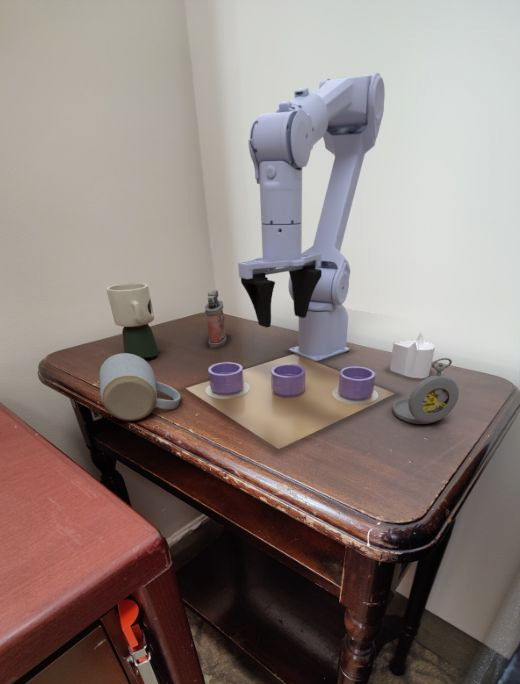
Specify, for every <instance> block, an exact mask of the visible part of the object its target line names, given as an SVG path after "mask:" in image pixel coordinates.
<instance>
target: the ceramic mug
mask: <svg viewBox="0 0 520 684" xmlns="http://www.w3.org/2000/svg"><path fill="white" fill-rule="evenodd" d="M98 376H99V390H100V391H99V393H100V400H101V402H102V405H103V407H104V409H105V410H106V411H107V412H108V413H109V415H111V416H112V417H114V418H116V419H118V420H121V421H125V422H134V421H139V420H140V421H141V420H142V419H144V418H146V417H147V416H149V415H150V414H151V413H152V412H153V411H154V409H160V410H166V411H167V410H175V409H177V408H178V407H179V405H180V401H181V397H182V396H181V394H180V392H179V391H178V390H176V389H175V388H174V387H172V386H170V385H167V384H166V383H163V382H161V381H158V380H157V381H156V377H155V373H154V369H153V368H152V367H151V365H150V363H148V362H147V360H146V359H143V358H141V357H139V356H136V355H133V354H129V353H125V352H123V353H117V354H114V355H111V356H110V357H108V358H106V359H105V361H104V362H103V363H102V364H101V366H100V369H99V375H98ZM158 393H160V394H163V395H164V396H168V397H169V398H171V400H170V399H164V398H158Z"/></svg>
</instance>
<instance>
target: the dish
mask: <svg viewBox="0 0 520 684" xmlns="http://www.w3.org/2000/svg"><path fill="white" fill-rule="evenodd" d="M243 370H244V367H243V365H242V364H240V363H237V362H232V361H224V362H218V363H214V364H212V365H210V366H209V367H208V369H207V374H208V381H209V383H210V388H211V390H212V391H213V392H214V393H215V394H218V395H233V394H237V393H239V392H240V391H242V389H243V387H244V377H243Z"/></svg>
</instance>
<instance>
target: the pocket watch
mask: <svg viewBox="0 0 520 684" xmlns="http://www.w3.org/2000/svg"><path fill="white" fill-rule="evenodd" d="M440 361H448V362H449V363H448V364H447V365H445V366H444V364H443V363H442V362H440ZM438 362H440V363H438ZM436 363H438V365H437V366H435V364H436ZM452 363H453V360H452V359H451V358H448V357H443V358H438V359H436V360H435V361H433V362H432V364H431V368H432V369H434V370H435V371H436V374H434V375H429V376H428V377H426V378H423V380H420V382H419V383H418V384H417V385H416V386H415V387H414V388H413V390H412V391H411V392H410V393H411V394H410V395H409V398H402V399H400V400H397V401H396V402H394V403H393V405H392V412H393V414H394V416H396V417H397V418H398V419H400V420H402V421H404V422H407V423H411V424H415V425H429V424H432V423H433V424H434V423H435V422H438V421H439V420H442V419H444V418H445V417H447V416H448V415H450V413H451V412H452V411H453V409H455V406H456V405H457V402H458V400H459V396H460V395H459V392H460V391H459V387H458V385H457V383H456V381H455V380H453V378H452V377H450V376H449V375H445V374H442V372H444V371H445V369H446V368H448V367H450V366H451V365H452Z"/></svg>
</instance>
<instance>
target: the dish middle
mask: <svg viewBox="0 0 520 684" xmlns="http://www.w3.org/2000/svg"><path fill="white" fill-rule="evenodd" d="M305 377H306V370H305V368H304V367H302V366H300V365H295V364H282V365H278V366H275V367H273V368H272V369H271V389H272V390H273V392H274V394H275V395H277V396H280V397H287V398H290V397H296V396H299V395H301V394H302V393H303V392H304V390H305Z"/></svg>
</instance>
